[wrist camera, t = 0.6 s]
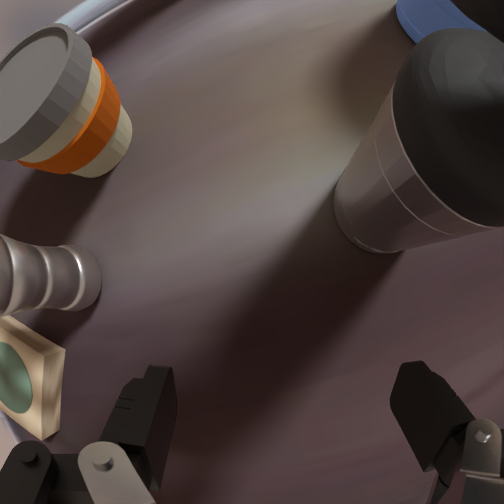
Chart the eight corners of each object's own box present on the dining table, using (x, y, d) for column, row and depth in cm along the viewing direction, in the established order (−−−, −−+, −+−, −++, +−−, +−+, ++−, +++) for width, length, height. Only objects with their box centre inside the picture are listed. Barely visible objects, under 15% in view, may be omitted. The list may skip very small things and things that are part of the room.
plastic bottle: (70, 313, 30) (-82, 333, 11) (59, 254, 31) (-89, 235, 11) (115, 303, 30) (-49, 324, 10) (103, 239, 31) (-57, 203, 11)
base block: (4, 311, 32) (-18, 313, 27) (65, 349, 30) (42, 356, 26) (1, 387, 31) (-19, 393, 27) (59, 429, 30) (40, 441, 25)
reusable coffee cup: (48, 141, 33) (-31, 94, 18) (122, 77, 32) (61, 3, 17) (78, 215, 31) (-23, 184, 16) (166, 144, 31) (94, 64, 16)
